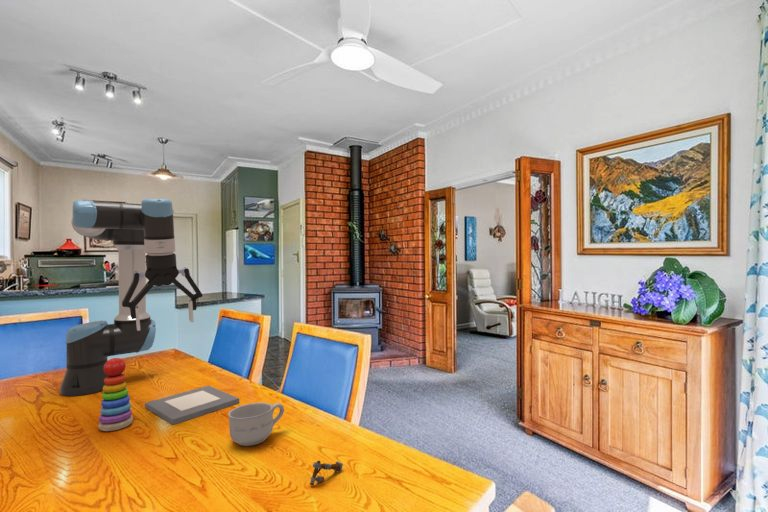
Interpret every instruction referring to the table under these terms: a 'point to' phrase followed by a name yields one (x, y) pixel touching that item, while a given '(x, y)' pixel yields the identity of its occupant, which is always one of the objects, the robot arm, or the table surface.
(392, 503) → the table surface
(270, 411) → the teacup
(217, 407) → the plate
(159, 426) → the table surface
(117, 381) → the stacking toy
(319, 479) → the dark triangular frame
